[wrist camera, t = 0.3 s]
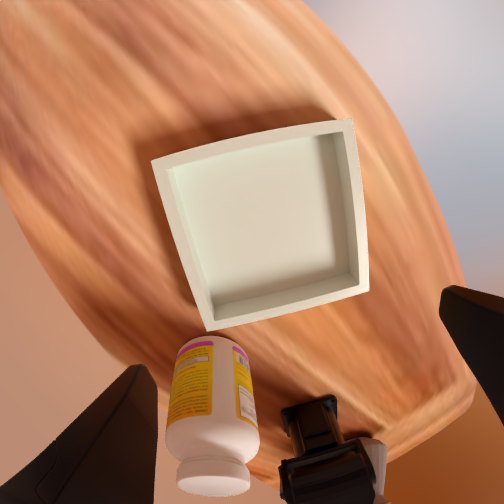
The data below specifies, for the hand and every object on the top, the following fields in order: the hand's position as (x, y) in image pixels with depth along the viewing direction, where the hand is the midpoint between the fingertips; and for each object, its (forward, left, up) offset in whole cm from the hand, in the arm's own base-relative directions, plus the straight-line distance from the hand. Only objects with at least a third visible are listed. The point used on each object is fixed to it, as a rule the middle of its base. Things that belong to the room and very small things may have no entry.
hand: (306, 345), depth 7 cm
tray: (-1, -1, -14) cm, 14 cm away
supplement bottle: (-12, +7, -14) cm, 20 cm away
